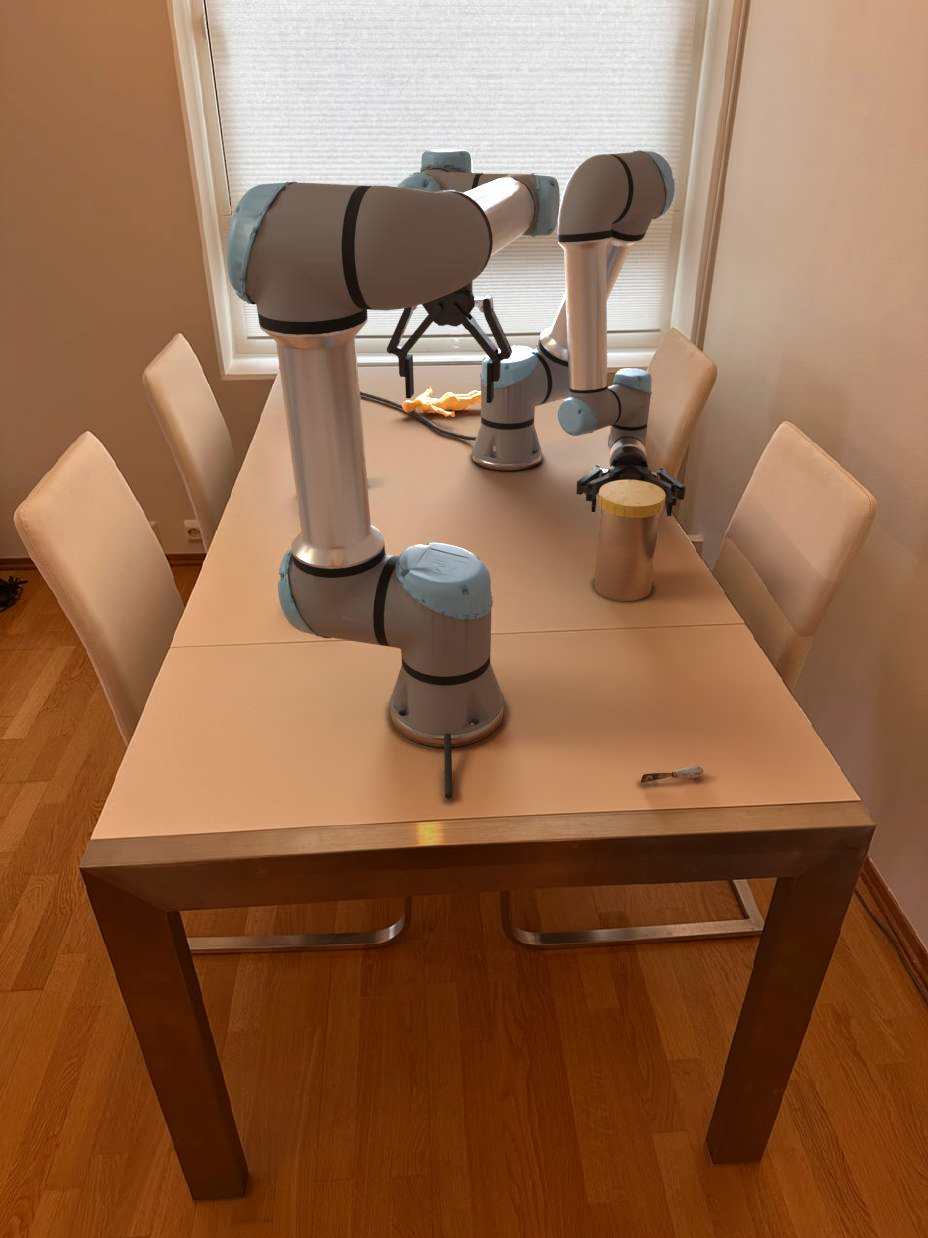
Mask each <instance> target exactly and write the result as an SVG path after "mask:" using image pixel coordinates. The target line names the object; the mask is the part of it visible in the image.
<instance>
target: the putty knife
mask: <svg viewBox="0 0 928 1238" xmlns="http://www.w3.org/2000/svg"><path fill="white" fill-rule="evenodd" d="M704 772H705V771H704V768H702V767H701V766H697V765H695V766H688V767H683V768H679V769H675V770H673V771H671V772H653V773H652V772H651V773H650V772H649V773H644V774H642V776H641V779H640V783H642V784H645V783H648V782H653V781H659V780H665V779H668V778H673V779H674V778H675V779H693V778H694V779H695V778H700V777H702V776H703V775H704Z"/></svg>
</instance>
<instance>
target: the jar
mask: <svg viewBox="0 0 928 1238" xmlns="http://www.w3.org/2000/svg"><path fill="white" fill-rule="evenodd" d="M660 520H661V512H660V513H658V514H656V515H653V516H650V517H643V518H629V517H621V516H617V515H614V514H611V513H609V512H607V511H605V510H603V509H602V508H601V507H600V514H599V527H598V536H597V548H596V549H597V550H596V561H595V573H594V574H595V575H594V583H593V584H594V585H593V586H594V589H595V590H596V592H597V593H598V594H600V595H601V596H603V597H605V598H607V599H610V600H614V601H618V602H634V601H635V602H636V601H640V600H643V599H645V598H646V597H648V596H649V595H650V594H651V592H652V586H653V585H652V584H653V575H654V568H655V561H656V551H657V546H658V545H657V544H658V537H659V530H660V529H659V528H660Z"/></svg>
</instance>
